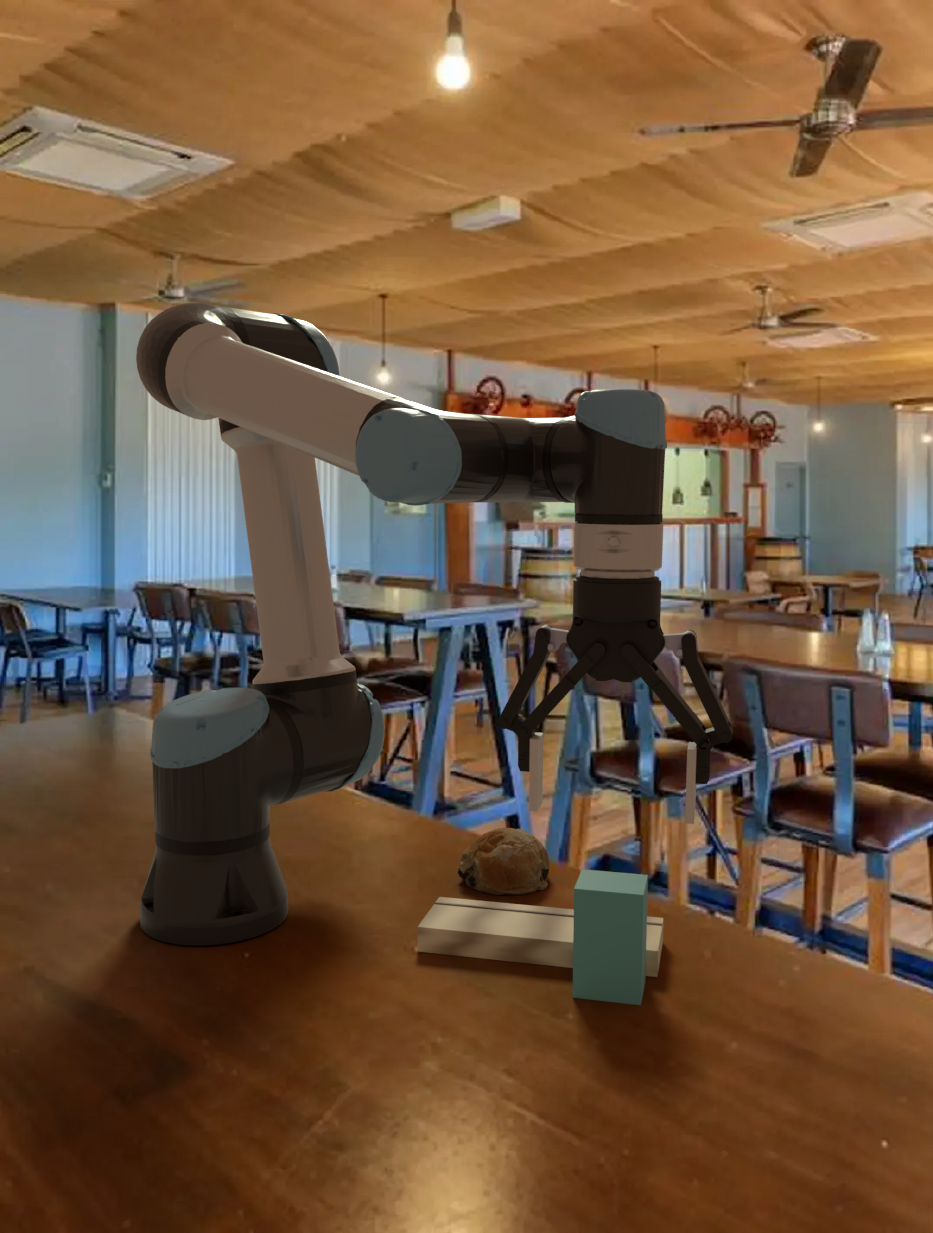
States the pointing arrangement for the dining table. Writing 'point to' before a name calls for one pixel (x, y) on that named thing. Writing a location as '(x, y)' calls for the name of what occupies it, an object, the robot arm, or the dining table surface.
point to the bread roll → (505, 863)
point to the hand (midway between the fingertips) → (611, 813)
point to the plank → (513, 933)
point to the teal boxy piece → (610, 936)
